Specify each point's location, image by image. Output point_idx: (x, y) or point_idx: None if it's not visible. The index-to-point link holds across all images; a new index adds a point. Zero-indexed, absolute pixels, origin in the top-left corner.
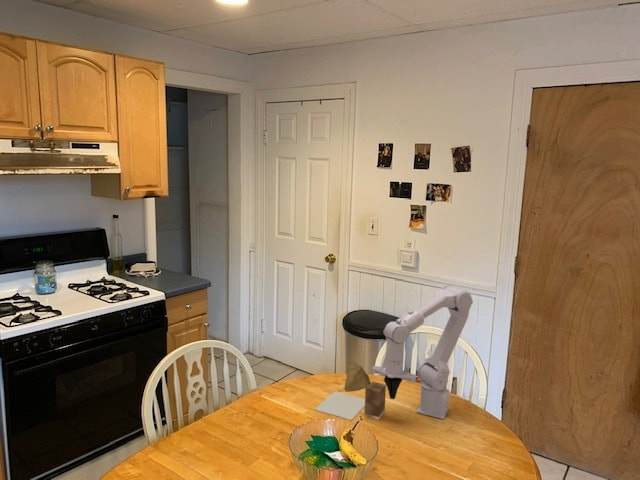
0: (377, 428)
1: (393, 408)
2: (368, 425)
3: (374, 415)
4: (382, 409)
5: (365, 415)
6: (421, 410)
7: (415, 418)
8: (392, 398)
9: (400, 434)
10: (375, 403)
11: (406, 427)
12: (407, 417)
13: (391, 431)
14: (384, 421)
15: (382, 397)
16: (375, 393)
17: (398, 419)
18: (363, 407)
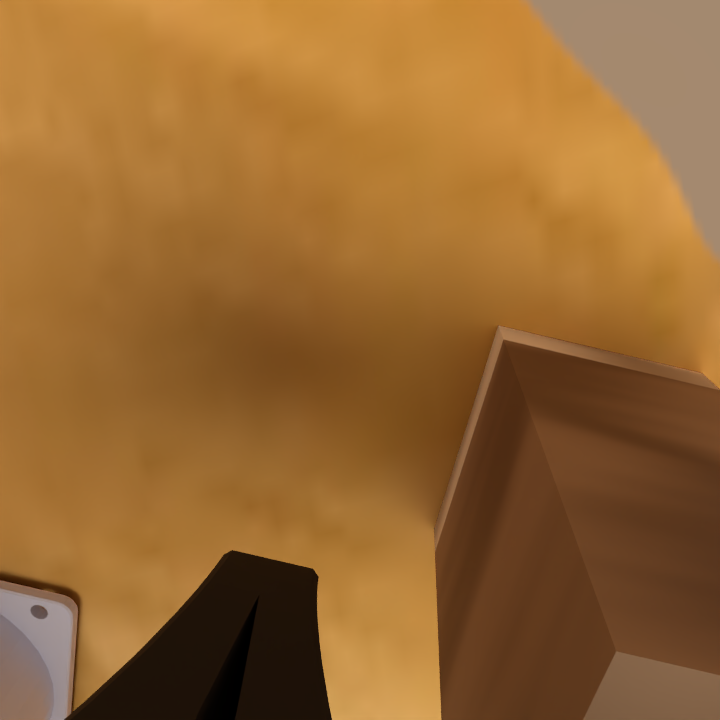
0: (493, 77)
1: (341, 627)
2: (638, 125)
3: (568, 356)
4: (462, 499)
5: (693, 375)
6: (21, 631)
7: (56, 478)
8: (250, 562)
9: (136, 8)
10: (614, 450)
11: (104, 237)
12: (148, 478)
13: (277, 55)
14: (411, 309)
15: (489, 629)
16: (714, 608)
17: (241, 406)
18: None
